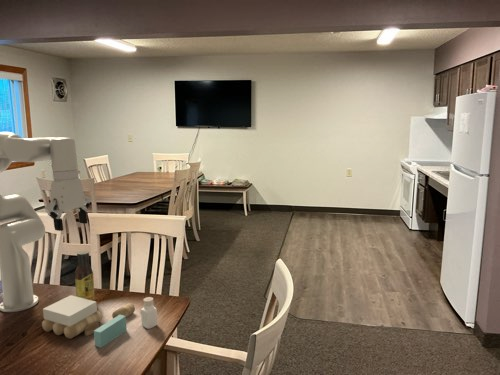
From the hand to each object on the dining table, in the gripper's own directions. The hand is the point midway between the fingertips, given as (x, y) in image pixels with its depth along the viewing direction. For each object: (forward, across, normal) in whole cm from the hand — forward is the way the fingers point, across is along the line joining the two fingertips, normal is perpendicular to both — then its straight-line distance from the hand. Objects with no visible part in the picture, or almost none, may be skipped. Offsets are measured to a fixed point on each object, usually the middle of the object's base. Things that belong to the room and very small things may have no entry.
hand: (71, 226), depth 131 cm
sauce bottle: (+33, -9, -8) cm, 35 cm away
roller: (+34, -7, +12) cm, 36 cm away
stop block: (+34, +5, +18) cm, 38 cm away
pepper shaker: (+34, -6, +24) cm, 42 cm away
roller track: (+33, +5, +5) cm, 34 cm away
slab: (+29, +5, +1) cm, 29 cm away
